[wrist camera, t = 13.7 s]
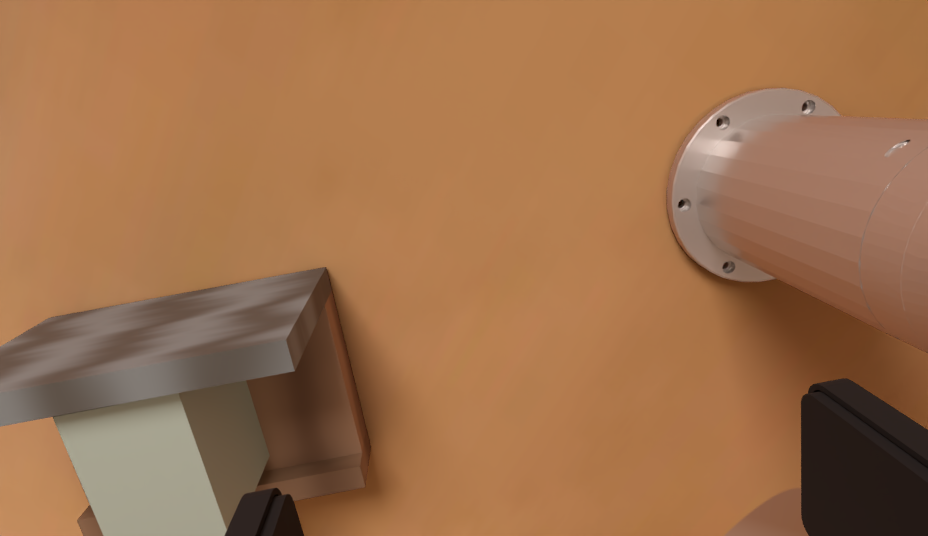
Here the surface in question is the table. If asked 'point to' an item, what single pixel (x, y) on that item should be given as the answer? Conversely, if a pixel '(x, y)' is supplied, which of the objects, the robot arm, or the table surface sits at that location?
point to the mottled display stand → (209, 371)
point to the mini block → (168, 460)
